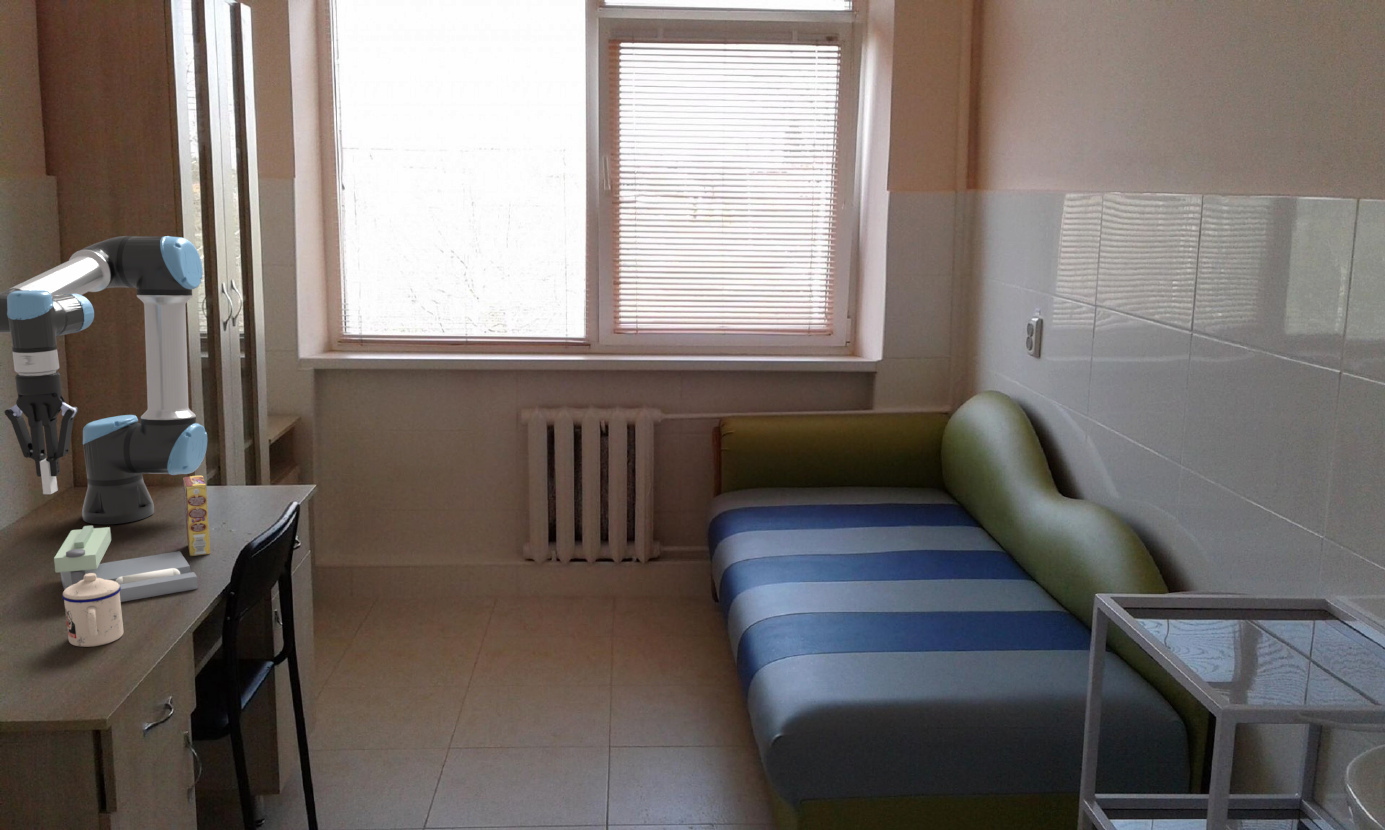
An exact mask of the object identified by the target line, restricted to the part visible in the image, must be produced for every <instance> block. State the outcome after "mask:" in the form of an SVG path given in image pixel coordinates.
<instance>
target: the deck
mask: <svg viewBox="0 0 1385 830" xmlns="http://www.w3.org/2000/svg"><path fill="white" fill-rule="evenodd" d="M170 568H175V569H178V570H179V571H180V574H179V575H174V576H168V577H162V578H156V579H150V580H144V581H138V582H132V583H126V584H120V587H121V590H120V602H121V603H122V602H123V603H124V602H128V601H134V600H135V601H136V600H140V599H146V598H151V597H157V596H163V595H168V594H174V593H175V594H176V593H180V592H186V591H192V590H197V589H199V585H198V576H197V574H196V573H195V572H194V571H191V565H190V564H189V562H188V561H187V560H186V558H185V557H184V556H183V554H182V552H181V550H179V551H172V552H165V553H159V554H155V555H154V554H153V555H147V556H146V555H145V556H141V557H133V558H128V559H127V558H126V559H122V560H121V559H120V560H115V561H108V562H103V563H101V562H100V564H99V566H98V568H97V569H91V570H79V571H68V572H60V580H61V584H62V587H63V590H65V589H66V588H68V587H69V586H71V585H74V584H76V583H78V582H79V581H81V580H83V579H84V575H85V574H88V573H95V574H96V576H97V578H102V579H105V580H112V581H116V579H117V578H119V577H122V576H128V575H134V574H140V573H146V572H152V571H158V570H164V569H170Z"/></svg>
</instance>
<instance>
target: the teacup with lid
mask: <svg viewBox="0 0 1385 830" xmlns="http://www.w3.org/2000/svg"><path fill="white" fill-rule="evenodd" d="M63 590H64V589H63ZM120 590H121V587H120V585H119V584H118V583H117V582H115V581H112V580H105V579H102V578H97V576H96V574H95V573H88V574H85V575H84V579H83V580H81V581H79V582H78V583H76V584H74V585H71V586H69V587H68V588H66V589H65V590H64V591H63V592H62V595H61V597H62V599H63V601H64V603H63V604H64V610H65V620H66V628H67V629H66V630H67V637H68V642H69V643H70V645H73V646H75V647H81V648H85V647H88V648H90V647H98V646H103V645H104V646H105V645H107V644H110V643H112V642H115V641H117V640H118V639H120V638H121V637H122V636H123V635H124V625H123V624H124V623H123V622H124V621H123V615H122V614H123V613H122V602H120Z"/></svg>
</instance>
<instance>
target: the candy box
mask: <svg viewBox="0 0 1385 830" xmlns="http://www.w3.org/2000/svg"><path fill="white" fill-rule="evenodd" d="M182 481H183V494H184V495H183V496H184V513H185V525H186V526H185V527H186V539H187V541H186V543H187V548H188V551H189V556H190V557H194V556H203V555H204V556H205V555H206V556H207V555H210V554H211V548H210V547H211V546H210V545H211V544H210V530H209V529H210V525H209V515H208V514H209V511H208V493H207V490H208V489H207V484H206V481H205V477H204V476H203V475H192V476H191V475H190V476H185V477H184V476H183V477H182Z"/></svg>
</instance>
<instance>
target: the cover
mask: <svg viewBox="0 0 1385 830" xmlns="http://www.w3.org/2000/svg"><path fill="white" fill-rule="evenodd" d="M111 541H112V533H111V527H110V526H109V527H108V526H107V527H94V525H84V526H83V527H82V529H71V530H70V532H69V533H68V535H67V537H65V540H64V541H63V543H62V544H61V546H60V548H59V549H58V551H57V553H56V555H55V556H54V557H53V562H54V571H55V573H56V574H57V573H61V572H68V571H79V570H91V569H97V568H98V566H99V564H101V562H102V559H103V558H104V555H105V554H106V551H107V550H108V548H109V546H110V544H111Z"/></svg>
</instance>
